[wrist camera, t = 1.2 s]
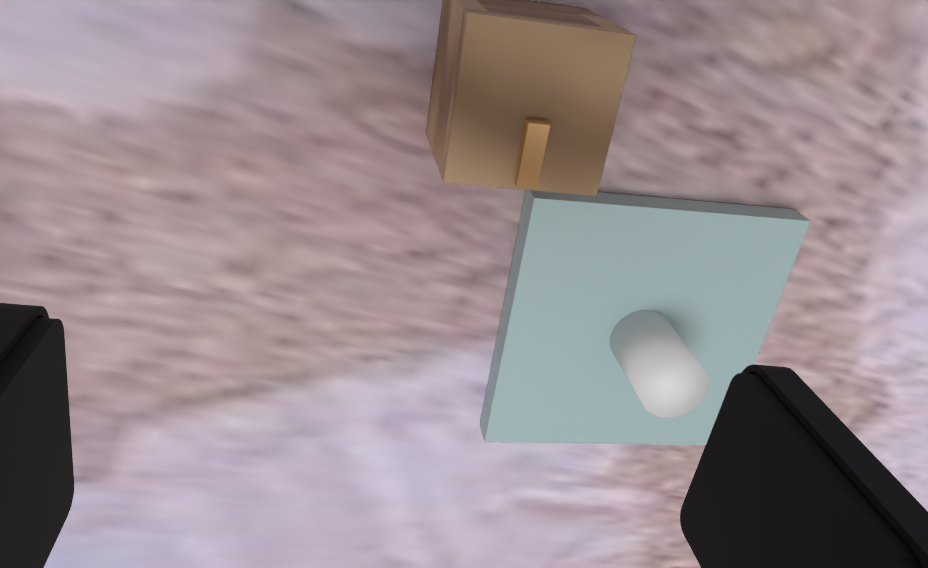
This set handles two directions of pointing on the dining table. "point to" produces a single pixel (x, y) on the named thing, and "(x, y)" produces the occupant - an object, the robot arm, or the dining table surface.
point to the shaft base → (610, 282)
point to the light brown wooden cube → (525, 94)
